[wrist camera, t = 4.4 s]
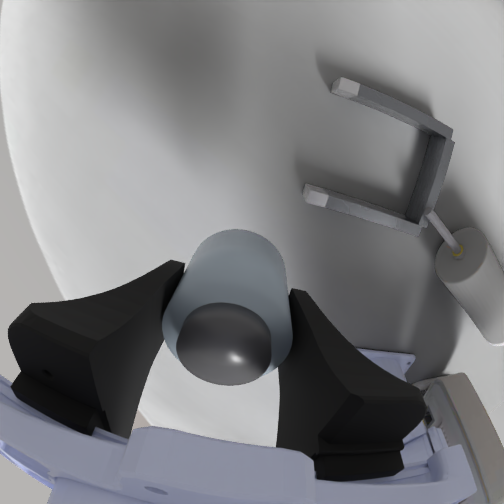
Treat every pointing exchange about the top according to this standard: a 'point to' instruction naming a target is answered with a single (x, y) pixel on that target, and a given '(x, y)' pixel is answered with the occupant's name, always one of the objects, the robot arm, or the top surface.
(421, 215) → the clip cradle
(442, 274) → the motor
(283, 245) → the top surface
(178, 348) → the light grey cylinder
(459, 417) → the network device
